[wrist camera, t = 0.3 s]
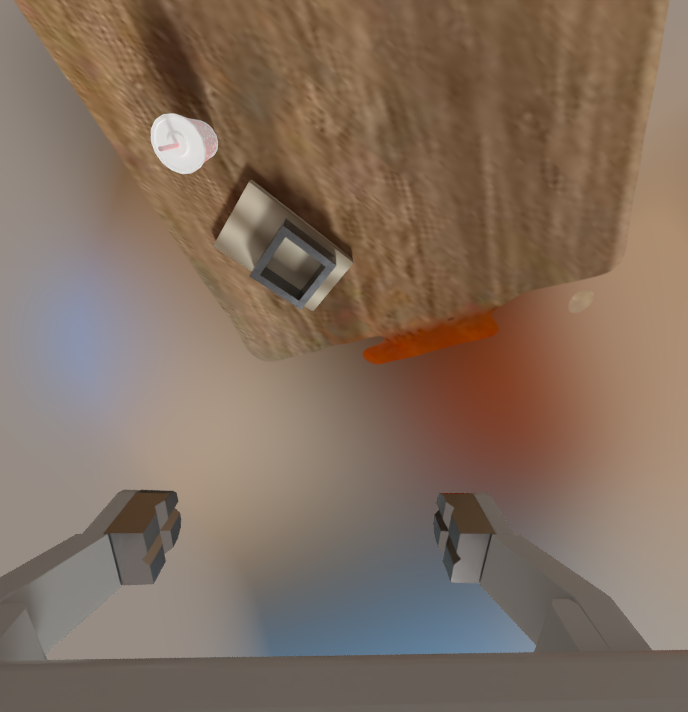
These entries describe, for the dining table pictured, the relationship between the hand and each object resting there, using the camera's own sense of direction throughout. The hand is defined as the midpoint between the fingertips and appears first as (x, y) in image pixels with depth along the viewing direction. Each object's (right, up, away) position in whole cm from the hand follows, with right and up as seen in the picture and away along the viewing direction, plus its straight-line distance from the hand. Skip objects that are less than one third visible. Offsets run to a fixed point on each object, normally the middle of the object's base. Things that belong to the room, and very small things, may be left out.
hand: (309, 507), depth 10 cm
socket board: (-9, +23, +46) cm, 52 cm away
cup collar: (-7, +21, +45) cm, 50 cm away
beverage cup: (-19, +36, +36) cm, 54 cm away
